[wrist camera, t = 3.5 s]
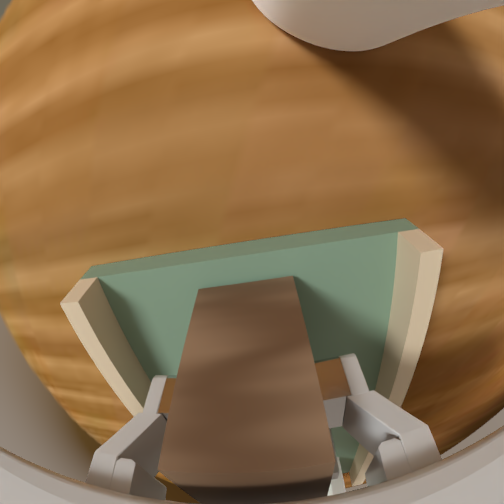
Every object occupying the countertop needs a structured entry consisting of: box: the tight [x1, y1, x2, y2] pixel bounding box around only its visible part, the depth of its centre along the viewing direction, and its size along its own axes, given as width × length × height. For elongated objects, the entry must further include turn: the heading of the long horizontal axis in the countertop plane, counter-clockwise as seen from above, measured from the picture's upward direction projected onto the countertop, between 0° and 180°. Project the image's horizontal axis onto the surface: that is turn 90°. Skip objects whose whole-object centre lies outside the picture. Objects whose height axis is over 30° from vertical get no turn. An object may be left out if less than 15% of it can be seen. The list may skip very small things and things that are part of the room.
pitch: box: [60, 218, 443, 486], centre depth 15 cm, size 14×25×3 cm, turn 9°
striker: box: [158, 276, 339, 504], centre depth 10 cm, size 6×10×7 cm, turn 9°
